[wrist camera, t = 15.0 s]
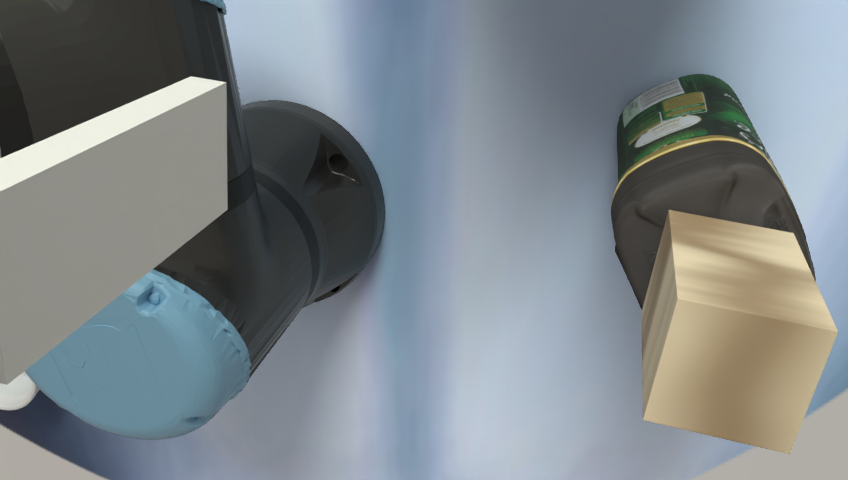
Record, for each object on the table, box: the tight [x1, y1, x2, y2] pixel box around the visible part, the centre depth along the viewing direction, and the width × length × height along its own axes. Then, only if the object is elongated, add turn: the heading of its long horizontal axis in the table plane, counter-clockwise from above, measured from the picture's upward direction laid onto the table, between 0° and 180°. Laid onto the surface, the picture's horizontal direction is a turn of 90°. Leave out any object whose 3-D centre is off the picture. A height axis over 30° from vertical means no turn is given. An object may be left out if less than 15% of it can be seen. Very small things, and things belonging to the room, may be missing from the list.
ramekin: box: [0, 371, 40, 410], centre depth 69 cm, size 9×9×4 cm
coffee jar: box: [611, 74, 816, 309], centre depth 42 cm, size 10×8×19 cm
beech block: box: [642, 210, 838, 454], centre depth 30 cm, size 5×5×8 cm
